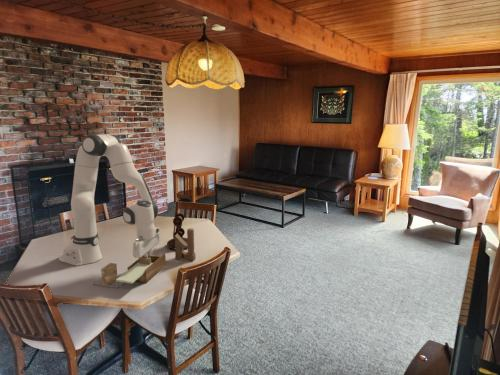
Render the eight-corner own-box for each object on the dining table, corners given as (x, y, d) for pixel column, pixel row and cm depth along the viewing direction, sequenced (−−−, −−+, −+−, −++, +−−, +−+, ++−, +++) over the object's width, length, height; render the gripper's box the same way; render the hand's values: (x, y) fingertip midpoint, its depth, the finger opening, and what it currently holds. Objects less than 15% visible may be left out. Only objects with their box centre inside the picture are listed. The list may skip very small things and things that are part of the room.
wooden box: (128, 280, 171) (127, 267, 169) (149, 263, 190) (148, 251, 188) (146, 282, 168) (146, 270, 167) (165, 265, 187) (165, 253, 186)
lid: (116, 281, 159) (115, 273, 158) (139, 262, 178) (139, 255, 177) (132, 283, 157) (131, 275, 156) (154, 264, 176) (153, 257, 175)
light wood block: (102, 284, 165) (100, 269, 163) (111, 277, 172) (110, 262, 170) (108, 285, 164) (107, 270, 162) (117, 278, 171) (116, 263, 169)
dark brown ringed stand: (170, 241, 220) (168, 211, 215) (193, 241, 220) (192, 211, 216) (164, 250, 206) (163, 218, 201) (189, 251, 206) (188, 219, 201)
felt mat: (93, 284, 166) (93, 283, 166) (102, 277, 173) (102, 276, 173) (117, 288, 163) (117, 287, 163) (126, 281, 170) (126, 280, 170)
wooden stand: (177, 256, 198) (176, 226, 194) (195, 258, 196) (195, 228, 192) (175, 259, 195) (174, 229, 190) (193, 261, 192) (192, 230, 188)
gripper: (140, 241, 164) (142, 268, 167) (161, 227, 183) (162, 251, 186) (128, 240, 165) (130, 266, 168) (150, 226, 184) (151, 250, 188)
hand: (147, 258), depth 177 cm, fingers closed
